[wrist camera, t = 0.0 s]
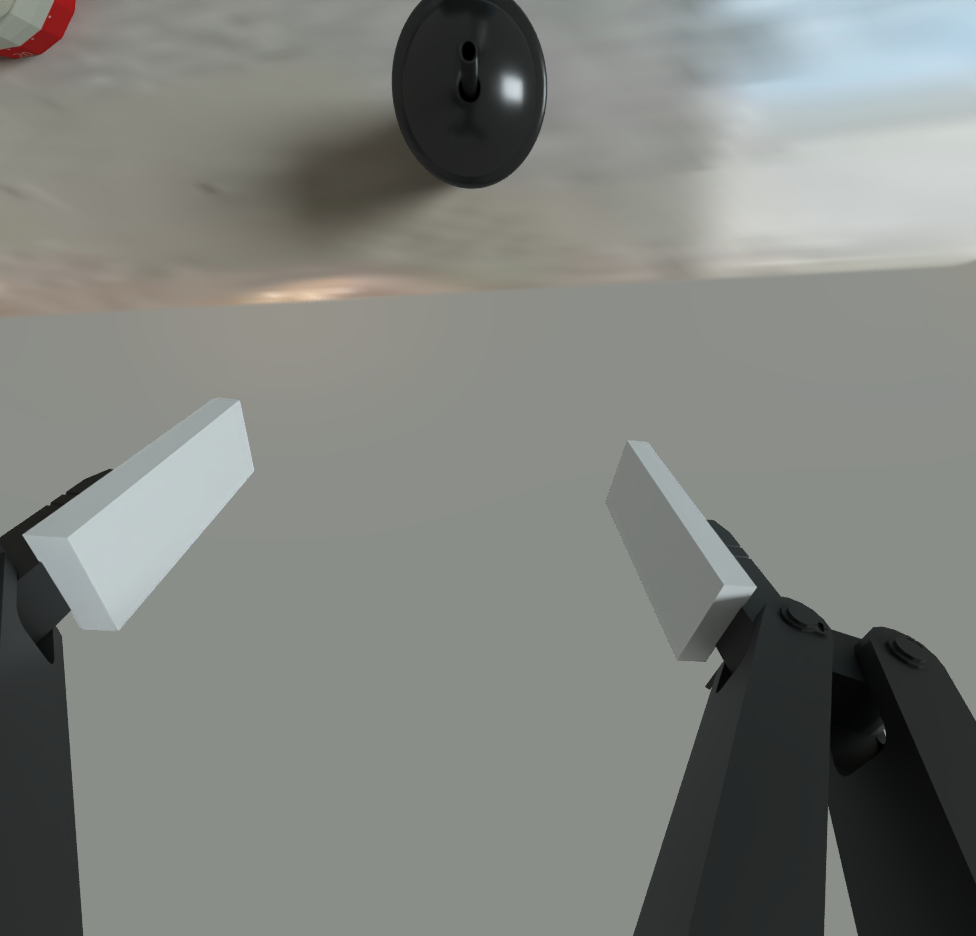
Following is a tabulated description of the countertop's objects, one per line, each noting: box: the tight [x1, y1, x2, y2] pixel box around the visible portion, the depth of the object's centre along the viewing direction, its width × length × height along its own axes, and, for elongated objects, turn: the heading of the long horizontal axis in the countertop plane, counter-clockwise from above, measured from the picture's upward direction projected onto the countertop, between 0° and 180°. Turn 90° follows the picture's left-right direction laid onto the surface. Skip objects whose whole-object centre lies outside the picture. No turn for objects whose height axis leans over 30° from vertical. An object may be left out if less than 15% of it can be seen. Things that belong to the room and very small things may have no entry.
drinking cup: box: [392, 0, 547, 189], centre depth 23 cm, size 8×8×20 cm
